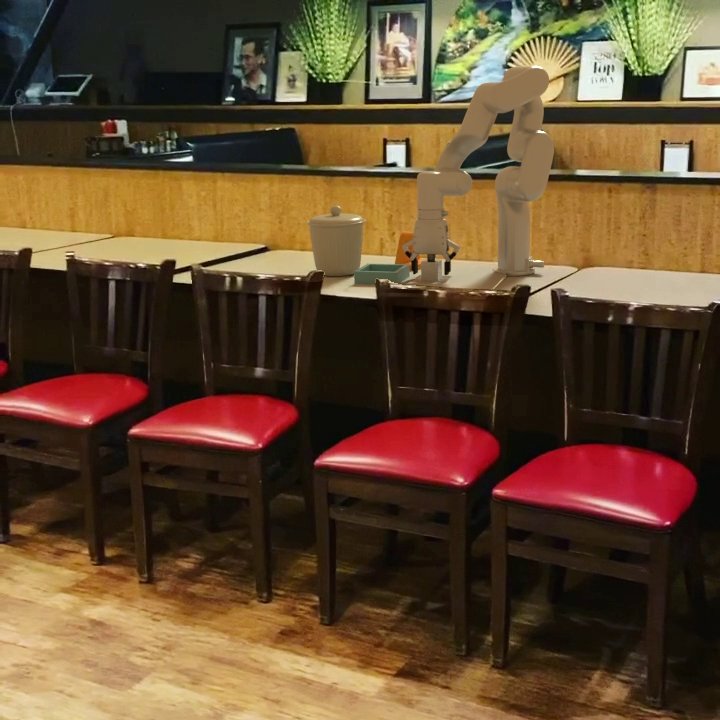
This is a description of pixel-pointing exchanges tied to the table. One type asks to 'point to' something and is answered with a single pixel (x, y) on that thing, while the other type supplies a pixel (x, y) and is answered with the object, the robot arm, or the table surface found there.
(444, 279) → the stud mount
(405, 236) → the bracket
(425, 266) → the strut socket
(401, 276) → the bin
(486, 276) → the table surface
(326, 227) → the canister
